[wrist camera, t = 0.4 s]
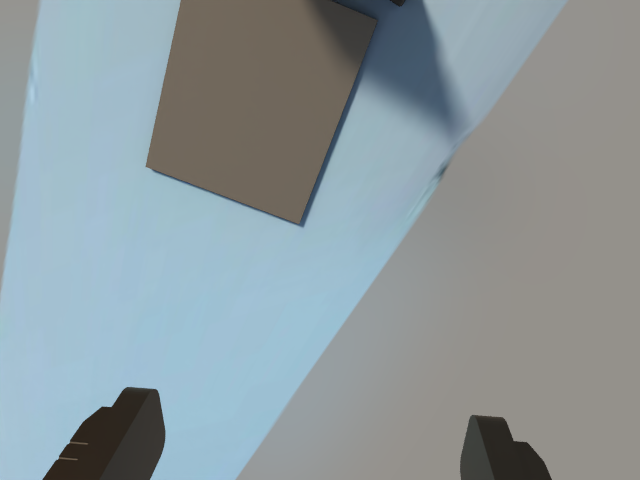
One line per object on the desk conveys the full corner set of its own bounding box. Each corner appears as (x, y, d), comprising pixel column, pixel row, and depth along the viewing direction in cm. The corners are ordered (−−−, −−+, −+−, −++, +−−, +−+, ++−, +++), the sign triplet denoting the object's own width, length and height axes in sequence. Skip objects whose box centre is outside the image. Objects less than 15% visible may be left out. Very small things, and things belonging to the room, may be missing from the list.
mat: (196, -56, 30) (193, -58, 29) (377, 20, 31) (377, 20, 30) (148, 164, 36) (145, 166, 36) (299, 221, 37) (298, 224, 37)
